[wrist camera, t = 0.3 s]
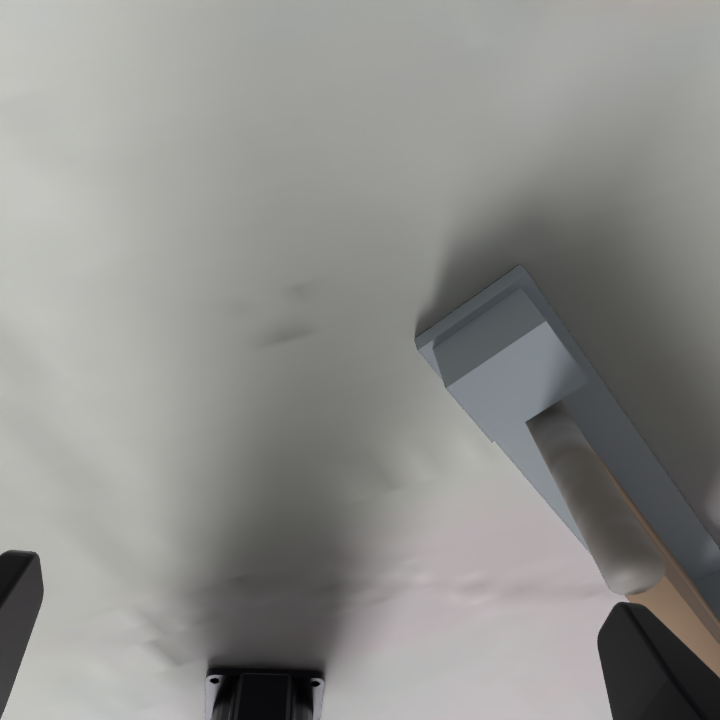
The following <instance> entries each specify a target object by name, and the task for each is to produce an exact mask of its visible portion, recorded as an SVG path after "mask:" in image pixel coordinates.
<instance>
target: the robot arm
mask: <svg viewBox="0 0 720 720" xmlns="http://www.w3.org/2000/svg"><path fill="white" fill-rule="evenodd" d="M43 593H44V587H43V580H42V572H41V565H40V558H39V556H38V554H37V553H36V552H32V551H20V550H9V551H6V552H4V553H2V554H1V555H0V719H1V716H2V714H3V712H4V709H5V707H6V704H7V701H8V698H9V696H10V693H11V690H12V687H13V684H14V681H15V679H16V676H17V673H18V670H19V667H20V664H21V661H22V659H23V656H24V653H25V650H26V647H27V644H28V641H29V638H30V636H31V633H32V630H33V627H34V624H35V621H36V618H37V615H38V613H39V610H40V607H41V604H42V600H43ZM597 643H598V651H599V656H600V661H601V665H602V670H603V675H604V679H605V684H606V689H607V694H608V698H609V703H610V708H611V713H612V717H613V720H720V677H719V676H718V675H717V674H716V673H715V672H714V671H713V670H712V669H711V668H709V667H708V666H707V665H706V664H705V663H704V662H703V661H702V660H701V659H700V658H699V657H698V656H697V655H696V654H695V653H694V652H693V651H692V650H691V649H690V648H689V647H688V646H687V645H686V644H685V643H684V642H682V641H681V640H680V639H679V638H678V637H677V636H676V635H675V634H674V633H673V632H672V631H671V630H670V629H669V628H668V627H667V626H666V625H665V624H664V623H663V622H662V621H661V620H660V619H659V618H658V617H657V616H655V615H654V614H653V613H652V612H651V611H650V610H649V609H648V608H647V607H645V606H644V605H642V604H638V603H627V602H619V603H617V604H616V605H615V606H614V607H613V609H612V610H611V612H610V614H609V615H608V617H607V619H606V621H605V622H604V624H603V626H602V627H601V629H600V631H599V634H598V640H597ZM324 685H325V677H324V674H323V673H321V672H316V671H286V670H255V669H225V668H213V669H210V670H208V671H207V674H206V679H205V720H320V713H321V706H322V699H323V692H324Z"/></svg>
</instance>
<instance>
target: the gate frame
mask: <svg viewBox="0 0 720 720" xmlns="http://www.w3.org/2000/svg"><path fill="white" fill-rule="evenodd" d="M415 343H416V347H417V350H418V351H419V353H420V354H421V355H422V356H423V357H424V359H425V360H426V361H427V362H428V363H429V364H430V366H431V367H432V368H433V369H434V370H435V371H436V373H437V374H438V375H439V376H440V377H441V379H442V380H443V382H444V385H445V388H446V389H447V390H448V392H449V393H450V394H451V395H452V396H453V397H454V399H455V400H456V401H457V402H458V403H459V404H460V406H461V407H462V408H463V409H464V410H465V411H466V413H467V414H468V415H469V416H470V417H471V418H472V420H473V421H474V422H475V423H476V424H477V425H478V427H479V428H480V429H481V430H482V431H483V433H484V434H485V435H486V436H487V437H488V438H489V440H490V441H491V442H494V441H495V442H496V443H497V444H498V446H499V447H500V448H501V449H502V450H503V451H504V453H505V454H506V455H507V456H508V457H509V459H510V460H511V461H512V462H513V463H514V464H515V466H516V467H517V468H518V469H519V470H520V471H521V473H522V474H523V475H524V476H525V477H526V479H527V480H528V481H529V482H530V483H531V484H532V486H533V487H534V488H535V489H536V490H537V491H538V493H539V494H540V495H541V496H542V497H543V499H544V500H545V501H546V502H547V503H548V504H549V506H550V507H551V508H552V509H553V510H554V511H555V513H556V514H557V515H558V516H559V517H560V519H561V520H562V521H563V522H564V523H565V524H566V526H567V527H568V528H569V529H570V530H571V531H572V533H573V534H574V535H575V536H576V537H577V539H578V540H579V541H580V542H581V543H582V544H583V546H584V547H585V548H586V549H587V550H588V551H589V553H590V554H591V552H590V550H589V548H588V546H587V544H586V542H585V540H584V538H583V536H582V534H581V532H580V531H579V529H578V527H577V525H576V523H575V521H574V519H573V517H572V515H571V513H570V511H569V509H568V507H567V505H566V503H565V501H564V499H563V497H562V495H561V493H560V491H559V489H558V487H557V485H556V483H555V481H554V479H553V477H552V475H551V473H550V471H549V469H548V467H547V465H546V463H545V461H544V459H543V457H542V455H541V453H540V451H539V449H538V447H537V445H536V443H535V441H534V439H533V437H532V435H531V433H530V431H529V429H528V427H527V425H526V423H525V422H526V421H527V420H529V419H531V418H532V417H534V416H535V415H537V414H539V413H540V412H542V411H543V410H545V409H547V408H548V407H550V406H551V405H553V404H555V403H556V402H558V401H559V400H562V402H563V403H564V405H565V407H566V408H567V410H568V411H569V413H570V415H571V416H572V418H573V419H574V421H575V422H576V424H577V426H578V427H579V429H580V430H581V432H582V433H583V435H584V437H585V438H586V440H587V441H588V443H589V444H590V445H591V447H592V448H593V449H594V451H595V452H596V453H597V455H598V456H599V457H600V459H601V460H602V461H603V463H604V464H605V465H606V466H607V468H608V469H609V470H610V472H611V473H612V474H613V476H614V477H615V478H616V480H617V481H618V482H619V484H620V485H621V486H622V488H623V489H624V490H625V492H626V493H627V494H628V496H629V497H630V498H631V500H632V501H633V502H634V504H635V505H636V506H637V508H638V509H639V510H640V512H641V513H642V514H643V516H644V517H645V518H646V520H647V521H648V522H649V524H650V525H651V526H652V528H653V529H654V530H655V532H656V533H657V534H658V536H659V537H660V538H661V540H662V541H663V542H664V544H665V545H666V546H667V547H668V549H669V550H670V551H671V553H672V554H673V555H674V557H675V558H676V559H677V561H678V562H679V563H680V565H681V566H682V567H683V569H684V570H685V571H686V573H687V574H688V575H689V577H690V578H691V579H692V581H693V582H694V583H695V585H696V586H697V588H698V589H699V591H700V592H701V594H702V595H703V597H704V598H705V600H706V601H707V603H708V604H709V606H710V607H711V609H712V610H713V612H714V613H715V615H716V616H717V618H718V619H719V621H720V549H719V548H718V546H717V545H716V543H715V542H714V540H713V539H712V537H711V536H710V535H709V533H708V532H707V530H706V529H705V527H704V526H703V524H702V523H701V522H700V520H699V519H698V517H697V516H696V514H695V513H694V511H693V510H692V509H691V507H690V506H689V504H688V503H687V501H686V500H685V499H684V497H683V496H682V494H681V493H680V491H679V490H678V488H677V487H676V486H675V484H674V483H673V481H672V480H671V478H670V477H669V475H668V474H667V473H666V471H665V470H664V468H663V467H662V465H661V464H660V462H659V461H658V460H657V458H656V457H655V455H654V454H653V452H652V451H651V449H650V448H649V447H648V445H647V444H646V442H645V441H644V439H643V438H642V436H641V435H640V434H639V432H638V431H637V429H636V428H635V426H634V425H633V423H632V422H631V421H630V419H629V418H628V416H627V415H626V413H625V412H624V411H623V409H622V408H621V406H620V405H619V403H618V402H617V400H616V399H615V398H614V396H613V395H612V393H611V392H610V390H609V389H608V387H607V386H606V385H605V383H604V382H603V380H602V379H601V377H600V376H599V374H598V373H597V372H596V370H595V369H594V367H593V366H592V364H591V363H590V361H589V360H588V359H587V357H586V356H585V354H584V353H583V351H582V350H581V348H580V347H579V346H578V344H577V343H576V341H575V340H574V338H573V337H572V335H571V334H570V333H569V331H568V330H567V328H566V327H565V325H564V324H563V323H562V321H561V320H560V318H559V317H558V315H557V314H556V312H555V311H554V310H553V308H552V307H551V305H550V304H549V302H548V301H547V299H546V298H545V297H544V295H543V294H542V292H541V291H540V289H539V288H538V286H537V285H536V284H535V282H534V281H533V279H532V278H531V276H530V275H529V273H528V272H527V271H526V270H525V269H524V267H523V266H522V265H521V264H520V265H518V266H517V267H515V268H514V269H512V270H511V271H510V272H508V273H507V274H505V275H504V276H503V277H501V278H500V279H498V280H497V281H495V282H494V283H493V284H491V285H490V286H488V287H487V288H486V289H484V290H483V291H481V292H480V293H479V294H477V295H476V296H474V297H473V298H471V299H470V300H469V301H467V302H466V303H464V304H463V305H462V306H460V307H459V308H457V309H456V310H455V311H453V312H452V313H450V314H449V315H447V316H446V317H445V318H443V319H442V320H440V321H439V322H438V323H436V324H435V325H433V326H432V327H430V328H429V329H428V330H426V331H425V332H423V333H422V334H421V335H419V336H418V337H416V338H415ZM591 555H592V554H591Z"/></svg>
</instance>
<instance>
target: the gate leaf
mask: <svg viewBox="0 0 720 720" xmlns="http://www.w3.org/2000/svg"><path fill="white" fill-rule="evenodd" d="M525 423H526V425H527V427H528V429H529V431H530V433H531V435H532V437H533V439H534V441H535V443H536V445H537V447H538V449H539V451H540V453H541V455H542V457H543V459H544V461H545V463H546V465H547V467H548V469H549V471H550V473H551V475H552V477H553V479H554V481H555V483H556V485H557V487H558V489H559V491H560V493H561V495H562V497H563V499H564V501H565V503H566V505H567V507H568V509H569V511H570V513H571V515H572V517H573V519H574V521H575V523H576V525H577V527H578V529H579V531H580V532H581V534H582V536H583V538H584V540H585V542H586V544H587V546H588V548H589V550H590V552H591V554H592V556H593V558H594V560H595V562H596V564H597V566H598V568H599V570H600V572H601V574H602V576H603V578H604V580H605V582H606V584H607V586H608V588H609V589H610V590H611V591H613V592H614V593H617V594H620V595H625V597H626V598H627V599H628V600H629V601H630V602H631V603H638V604H642V605H644V606H645V607H647V608H648V609H649V610H650V611H651V612H652V613H653V614H654V615H655V616H657V617H658V618H659V619H660V620H661V621H662V622H663V623H664V624H665V625H666V626H667V627H668V628H669V629H670V630H671V631H672V632H673V633H674V634H675V635H676V636H677V637H678V638H679V639H680V640H681V641H682V642H684V643H685V644H686V645H687V646H688V647H689V648H690V649H691V650H692V651H693V652H694V653H695V654H696V655H697V656H698V657H699V658H700V659H701V660H702V661H703V662H704V663H705V664H706V665H707V666H708V667H709V668H711V669H712V670H713V671H714V672H715V673H716V674H717V675H718V676H719V677H720V621H719V619H718V618H717V616H716V615H715V613H714V612H713V610H712V609H711V607H710V606H709V604H708V603H707V601H706V600H705V598H704V597H703V595H702V594H701V592H700V591H699V589H698V588H697V586H696V585H695V583H694V582H693V581H692V579H691V578H690V577H689V575H688V574H687V573H686V571H685V570H684V569H683V567H682V566H681V565H680V563H679V562H678V561H677V559H676V558H675V557H674V555H673V554H672V553H671V551H670V550H669V549H668V547H667V546H666V545H665V544H664V542H663V541H662V540H661V538H660V537H659V536H658V534H657V533H656V532H655V530H654V529H653V528H652V526H651V525H650V524H649V522H648V521H647V520H646V518H645V517H644V516H643V514H642V513H641V512H640V510H639V509H638V508H637V506H636V505H635V504H634V502H633V501H632V500H631V498H630V497H629V496H628V494H627V493H626V492H625V490H624V489H623V488H622V486H621V485H620V484H619V482H618V481H617V480H616V478H615V477H614V476H613V474H612V473H611V472H610V470H609V469H608V468H607V466H606V465H605V464H604V463H603V461H602V460H601V459H600V457H599V456H598V455H597V453H596V452H595V451H594V449H593V448H592V447H591V445H590V444H589V443H588V441H587V440H586V438H585V437H584V435H583V433H582V432H581V430H580V429H579V427H578V426H577V424H576V422H575V421H574V419H573V418H572V416H571V415H570V413H569V411H568V410H567V408H566V407H565V405H564V403H563V402H562V400H559V401H558V402H556V403H555V404H553V405H551V406H550V407H548V408H547V409H545V410H543V411H542V412H540V413H539V414H537V415H535V416H534V417H532V418H531V419H529V420H527V421H526V422H525Z"/></svg>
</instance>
